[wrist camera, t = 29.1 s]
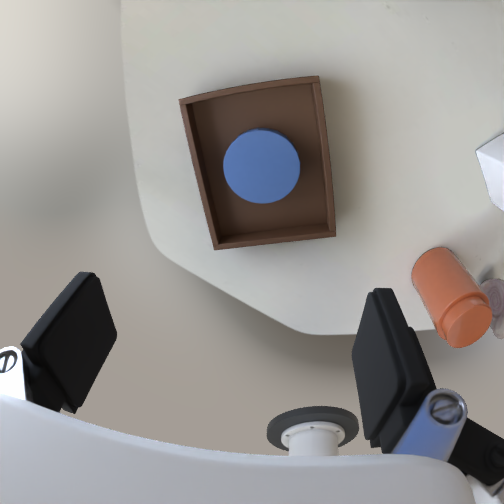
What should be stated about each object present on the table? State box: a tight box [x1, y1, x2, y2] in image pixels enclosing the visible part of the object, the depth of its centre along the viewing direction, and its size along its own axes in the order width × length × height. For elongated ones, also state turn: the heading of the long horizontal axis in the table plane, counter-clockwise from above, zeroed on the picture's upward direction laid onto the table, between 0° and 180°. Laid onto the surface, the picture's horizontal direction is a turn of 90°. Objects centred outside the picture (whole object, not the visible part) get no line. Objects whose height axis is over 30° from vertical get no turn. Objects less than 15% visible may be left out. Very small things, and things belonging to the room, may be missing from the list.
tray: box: [179, 76, 336, 250], centre depth 28 cm, size 15×12×3 cm
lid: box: [223, 127, 301, 203], centre depth 28 cm, size 7×7×2 cm
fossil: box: [480, 279, 504, 339], centre depth 30 cm, size 6×4×10 cm, turn 178°
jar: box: [412, 247, 492, 348], centre depth 29 cm, size 7×7×11 cm
